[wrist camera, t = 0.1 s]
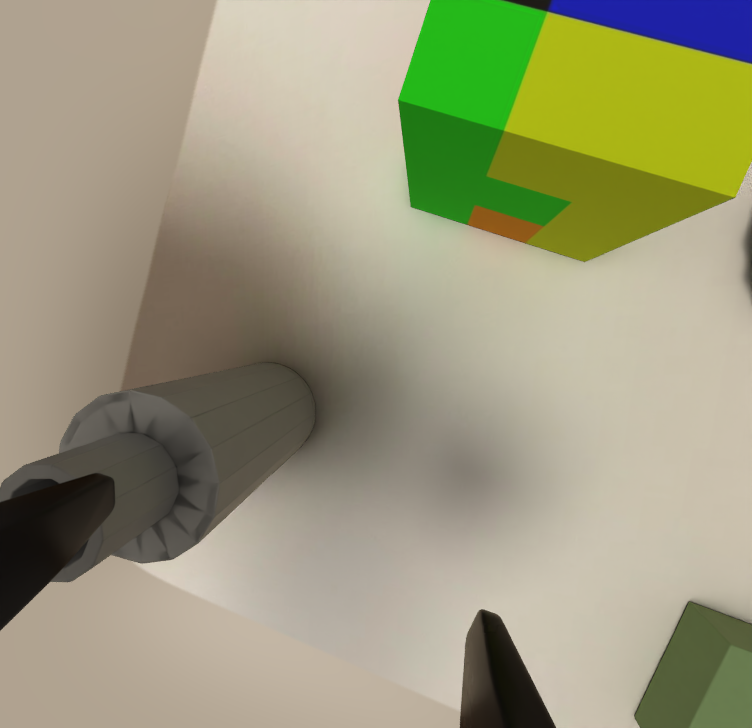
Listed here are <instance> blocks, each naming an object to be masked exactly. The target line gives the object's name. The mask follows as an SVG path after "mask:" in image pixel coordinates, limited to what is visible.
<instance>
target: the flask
mask: <svg viewBox="0 0 752 728" xmlns="http://www.w3.org/2000/svg"><path fill="white" fill-rule="evenodd" d="M314 422H315V403H314V399H313V395H312V393H311V391H310V389H309V387H308V385H307V384H306V382H305V381H304V380H303V379H302V378H301V377H300V376H299V375H298V374H297V373H296V372H294V371H293V370H291V369H290V368H288V367H286V366H283V365H280V364H276V363H259V364H254V365H249V366H244V367H239V368H234V369H229V370H224V371H219V372H214V373H209V374H204V375H199V376H194V377H189V378H184V379H180V380H175V381H170V382H165V383H160V384H155V385H150V386H145V387H140V388H135V389H130V390H125V391H120V392H115V393H110V394H106V395H101V396H99V397H97V398H96V399H95V400H94V401H92V402H91V403H90V404H88V405H87V406H86V407H84V408H83V409H82V410H80V411H79V412H78V413H76V415H75V416H74V417H73V419H72V421H71V423H70V425H69V426H68V428H67V430H66V432H65V434H64V436H63V438H62V440H61V443H60V449H59V454H56V455H53V456H50V457H47V458H44V459H41V460H38V461H35V462H32V463H30V464H26V465H24V466H22V467H21V468H20V469H18V470H17V471H16V472H14V473H13V474H12V475H10V476H9V477H8V478H6V479H5V480H4V481H3V482H2V484H1V487H0V502H1V501H5V500H8V499H11V498H14V497H18V496H21V495H24V494H27V493H31V492H34V491H37V490H40V489H44V488H47V487H50V486H53V485H57V484H60V483H63V482H66V481H70V480H73V479H76V478H80V477H83V476H86V475H89V474H93V473H101V474H104V475H106V476H109V477H112V478H113V479H114V482H115V506H114V509H113V511H112V512H111V514H110V515H109V516H108V517H107V518H106V520H105V521H104V522H103V523H102V524H101V525H100V526H99V528H98V529H97V530H96V531H95V532H94V533H93V535H92V536H91V537H90V538H89V539H88V540H87V541H86V543H85V544H84V545H83V546H82V547H81V548H80V550H79V551H78V552H77V553H76V554H75V555H74V556H73V558H72V559H71V560H70V561H69V562H68V563H67V564H66V565H65V567H64V568H63V569H62V570H61V571H60V572H59V573H58V574H57V575H56V576H55V577H54V578H53V579H52V580H51V581H50V582H71V581H73V580H75V579H76V578H78V577H79V576H81V575H82V574H84V573H86V572H87V571H89V570H90V569H91V568H93V567H94V566H96V565H97V564H99V563H100V562H101V561H103V560H104V559H106V558H107V557H108V556H110V555H113V556H117V557H120V558H124V559H127V560H131V561H134V562H138V563H150V562H158V561H166V560H172V559H174V558H176V557H178V556H179V555H181V554H182V553H184V552H185V551H187V550H189V549H190V548H192V547H193V546H195V545H197V544H198V543H199V542H200V541H201V540H202V539H203V538H204V537H205V536H206V535H208V534H209V533H210V532H211V531H212V530H213V529H214V528H215V527H216V526H217V525H218V524H219V523H220V522H221V521H222V520H224V519H225V518H226V517H227V516H228V515H229V514H230V513H231V512H232V511H233V510H234V509H235V508H236V507H237V506H238V505H239V504H241V503H242V502H243V501H244V500H245V499H246V498H247V497H248V496H249V495H250V494H251V493H252V492H253V491H254V490H255V489H257V488H258V487H259V486H260V485H261V484H262V483H263V482H264V481H265V480H266V479H267V478H268V477H269V476H270V475H271V474H273V473H274V472H275V471H276V470H277V469H278V468H279V467H280V466H281V465H282V464H283V463H284V462H285V461H286V460H287V459H289V458H290V457H291V456H292V455H293V454H294V453H295V452H296V451H297V450H298V449H299V448H300V447H301V446H302V444H303V443H304V442H305V441H306V440H307V438H308V437H309V435H310V433H311V431H312V429H313V426H314Z"/></svg>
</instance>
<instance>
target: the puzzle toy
mask: <svg viewBox="0 0 752 728" xmlns="http://www.w3.org/2000/svg"><path fill="white" fill-rule="evenodd" d="M398 102H399V111H400V119H401V127H402V135H403V144H404V152H405V160H406V169H407V177H408V185H409V194H410V202H411V207H413V208H416V209H419V210H423V211H426V212H429V213H432V214H435V215H438V216H442V217H445V218H448V219H451V220H454V221H457V222H460V223H464V224H467V225H470V226H473V227H476V228H479V229H483V230H486V231H489V232H492V233H495V234H498V235H501V236H505V237H508V238H511V239H514V240H517V241H520V242H523V243H527V244H530V245H533V246H536V247H539V248H542V249H546V250H549V251H552V252H555V253H558V254H561V255H564V256H568V257H571V258H574V259H577V260H580V261H583V262H586V261H588V260H590V259H593V258H595V257H597V256H600V255H602V254H604V253H607V252H609V251H611V250H614V249H616V248H618V247H621V246H623V245H625V244H628V243H630V242H632V241H635V240H637V239H639V238H642V237H644V236H646V235H649V234H651V233H653V232H656V231H658V230H660V229H663V228H665V227H668V226H670V225H672V224H675V223H677V222H679V221H682V220H684V219H686V218H689V217H691V216H693V215H696V214H698V213H700V212H703V211H705V210H707V209H710V208H712V207H714V206H717V205H719V204H721V203H724V202H726V201H728V200H731V199H733V198H735V197H736V195H737V192H738V190H739V188H740V186H741V184H742V181H743V179H744V177H745V175H746V173H747V170H748V168H749V166H750V164H751V162H752V0H431V1H430V4H429V7H428V10H427V13H426V16H425V19H424V22H423V25H422V28H421V32H420V35H419V38H418V41H417V44H416V47H415V50H414V53H413V56H412V59H411V62H410V65H409V68H408V72H407V75H406V78H405V81H404V84H403V87H402V90H401V93H400V96H399V99H398Z"/></svg>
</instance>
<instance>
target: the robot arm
mask: <svg viewBox="0 0 752 728" xmlns="http://www.w3.org/2000/svg"><path fill="white" fill-rule="evenodd" d="M114 506H115V482H114V479H113V478H112V477H109V476H106V475H104V474H101V473H93V474H89V475H86V476H83V477H80V478H76V479H73V480H70V481H66V482H63V483H60V484H57V485H53V486H50V487H47V488H44V489H40V490H37V491H34V492H31V493H27V494H24V495H21V496H18V497H14V498H11V499H8V500H5V501H1V502H0V630H1V629H3V627H4V626H5V625H7V624H8V623H9V621H11V620H12V619H13V617H15V616H16V615H17V614H18V613H19V612H20V611H21V610H22V609H23V608H24V607H25V606H26V605H27V604H28V603H29V602H30V601H31V600H32V599H33V598H34V597H35V596H36V595H37V594H38V593H39V592H40V591H41V590H42V589H43V588H44V587H45V586H46V585H47V584H48V583H49V582H50V581H51V580H52V579H53V578H54V577H55V576H56V575H57V574H58V573H59V572H60V571H61V570H62V569H63V568H64V567H65V565H66V564H67V563H68V562H69V561H70V560H71V559H72V558H73V556H74V555H75V554H76V553H77V552H78V551H79V550H80V548H81V547H82V546H83V545H84V544H85V543H86V541H87V540H88V539H89V538H90V537H91V536H92V535H93V533H94V532H95V531H96V530H97V529H98V528H99V526H100V525H101V524H102V523H103V522H104V521H105V520H106V518H107V517H108V516H109V515H110V514H111V512H112V511H113V509H114ZM460 728H556V727H555V725H554V723H553V721H552V719H551V717H550V715H549V713H548V711H547V709H546V707H545V705H544V703H543V701H542V699H541V697H540V695H539V693H538V691H537V689H536V687H535V685H534V683H533V681H532V679H531V677H530V675H529V673H528V671H527V669H526V667H525V665H524V663H523V661H522V659H521V657H520V655H519V653H518V651H517V649H516V647H515V645H514V643H513V641H512V639H511V637H510V635H509V633H508V631H507V629H506V627H505V625H504V623H503V621H502V619H501V618H500V617H499V616H498V615H497V614H495V613H492V612H489V611H487V610H484V609H481V610H479V612H478V613H477V615H476V617H475V619H474V621H473V623H472V625H471V627H470V629H469V631H468V634H467V637H466V644H465V658H464V672H463V687H462V701H461V716H460Z"/></svg>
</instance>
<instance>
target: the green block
mask: <svg viewBox="0 0 752 728" xmlns="http://www.w3.org/2000/svg"><path fill="white" fill-rule="evenodd" d="M635 719H636V721H637V723H638V725H639V727H640V728H752V625H751V624H748V623H746V622H743V621H740V620H738V619H735V618H732V617H730V616H727V615H724V614H721V613H719V612H716V611H713V610H711V609H708V608H705V607H703V606H700V605H697V604H694V603H692V602H689V603H688V605H687V608H686V610H685V612H684V614H683V616H682V618H681V620H680V622H679V624H678V626H677V628H676V631H675V633H674V635H673V637H672V639H671V641H670V643H669V645H668V647H667V649H666V651H665V654H664V656H663V658H662V660H661V662H660V664H659V666H658V668H657V670H656V672H655V674H654V677H653V679H652V681H651V683H650V685H649V687H648V689H647V691H646V693H645V695H644V697H643V699H642V702H641V704H640V706H639V708H638V710H637V712H636V714H635Z"/></svg>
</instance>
